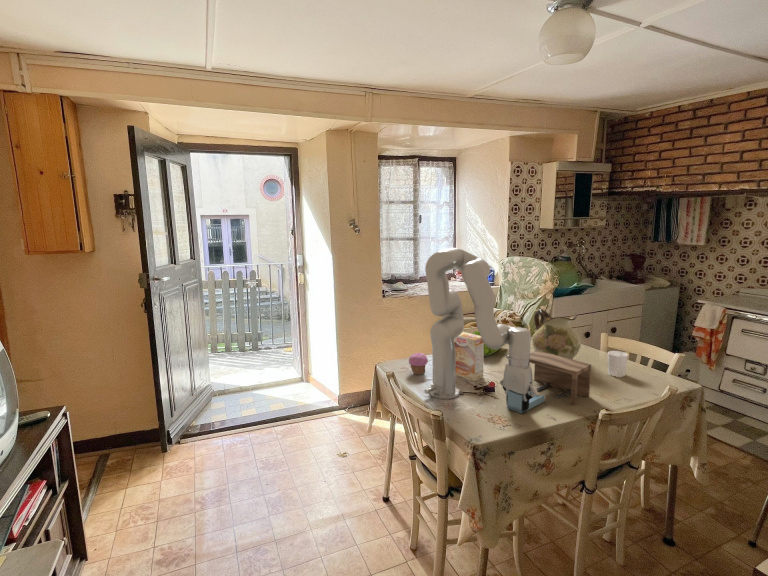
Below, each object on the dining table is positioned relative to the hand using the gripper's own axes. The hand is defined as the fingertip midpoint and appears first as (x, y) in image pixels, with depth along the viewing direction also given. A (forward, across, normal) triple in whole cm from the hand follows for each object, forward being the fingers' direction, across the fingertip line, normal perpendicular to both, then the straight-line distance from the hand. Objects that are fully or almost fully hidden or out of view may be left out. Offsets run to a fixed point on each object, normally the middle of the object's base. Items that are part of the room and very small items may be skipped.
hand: (517, 406), depth 157 cm
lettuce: (+2, -49, +49) cm, 69 cm away
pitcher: (+2, -19, +60) cm, 63 cm away
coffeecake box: (+2, -36, +13) cm, 38 cm away
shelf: (+1, 0, +26) cm, 26 cm away
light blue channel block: (+1, 0, +6) cm, 6 cm away
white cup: (+2, +9, +64) cm, 64 cm away
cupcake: (+2, -52, -2) cm, 52 cm away
